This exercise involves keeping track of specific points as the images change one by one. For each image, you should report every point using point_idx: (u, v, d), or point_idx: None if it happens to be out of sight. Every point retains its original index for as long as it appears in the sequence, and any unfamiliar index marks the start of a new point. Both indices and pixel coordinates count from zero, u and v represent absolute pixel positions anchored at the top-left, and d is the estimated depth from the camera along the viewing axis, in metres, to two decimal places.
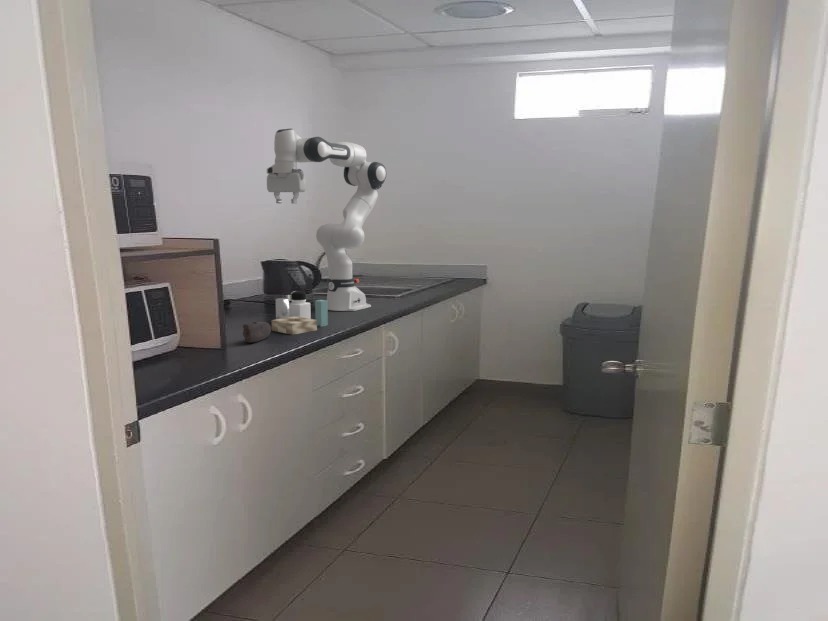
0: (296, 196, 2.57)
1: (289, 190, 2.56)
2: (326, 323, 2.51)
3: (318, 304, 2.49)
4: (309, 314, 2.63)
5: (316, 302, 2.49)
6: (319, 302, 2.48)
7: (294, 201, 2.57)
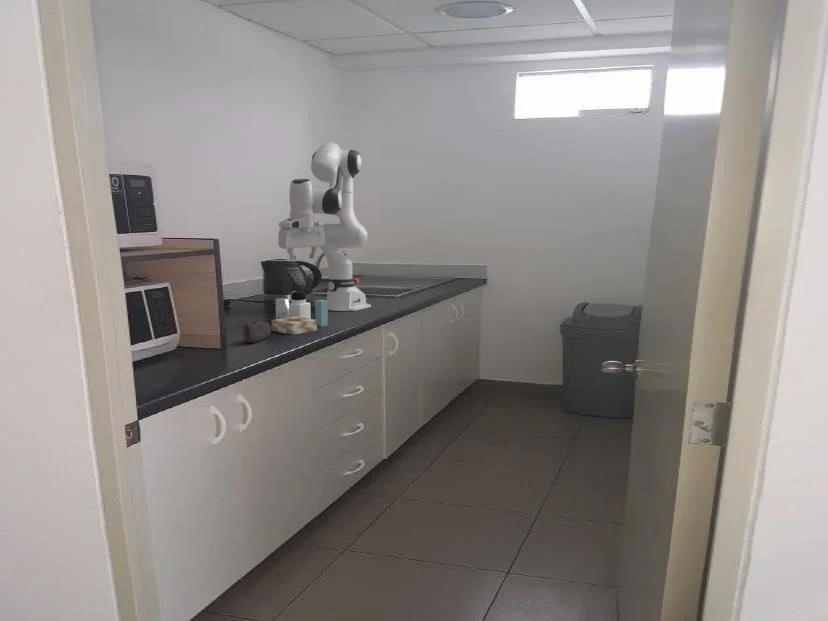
0: None
1: (313, 245, 2.41)
2: (326, 323, 2.51)
3: (318, 304, 2.49)
4: (309, 314, 2.63)
5: (316, 302, 2.49)
6: (319, 302, 2.48)
7: None
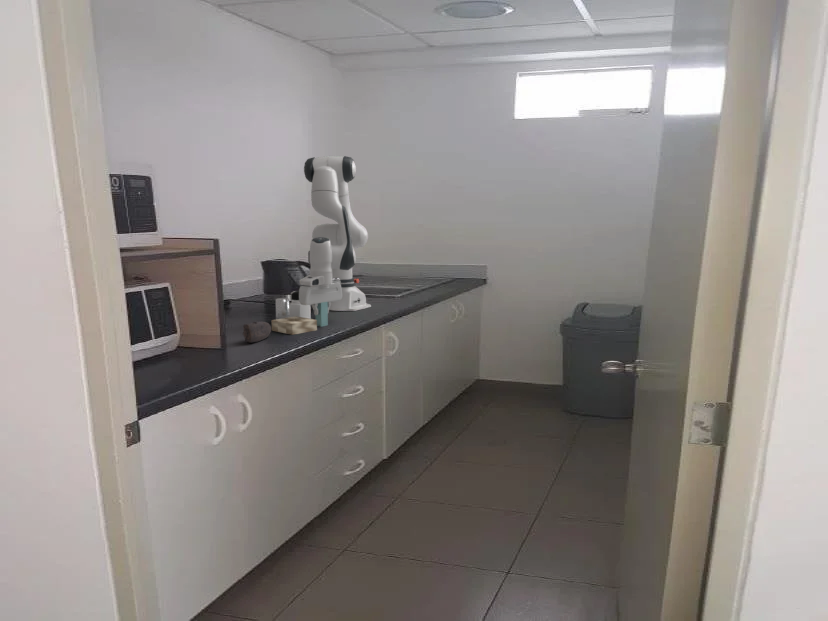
0: None
1: (331, 300, 2.52)
2: (326, 323, 2.51)
3: (318, 304, 2.49)
4: (309, 314, 2.63)
5: None
6: None
7: None
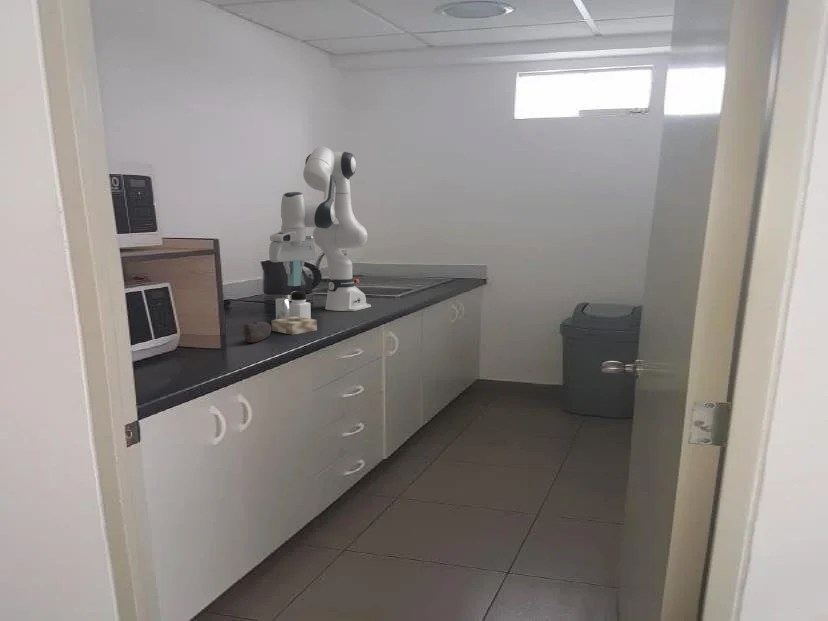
0: None
1: (305, 259, 2.38)
2: (299, 283, 2.37)
3: (290, 262, 2.35)
4: (309, 314, 2.63)
5: None
6: None
7: None
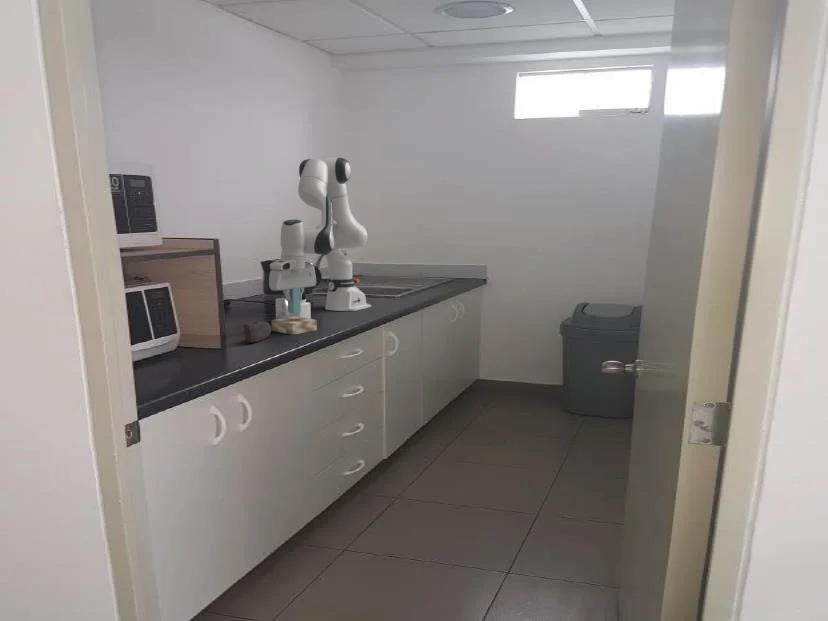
0: None
1: (304, 285, 2.40)
2: (299, 310, 2.39)
3: (290, 289, 2.37)
4: (309, 314, 2.63)
5: None
6: None
7: None
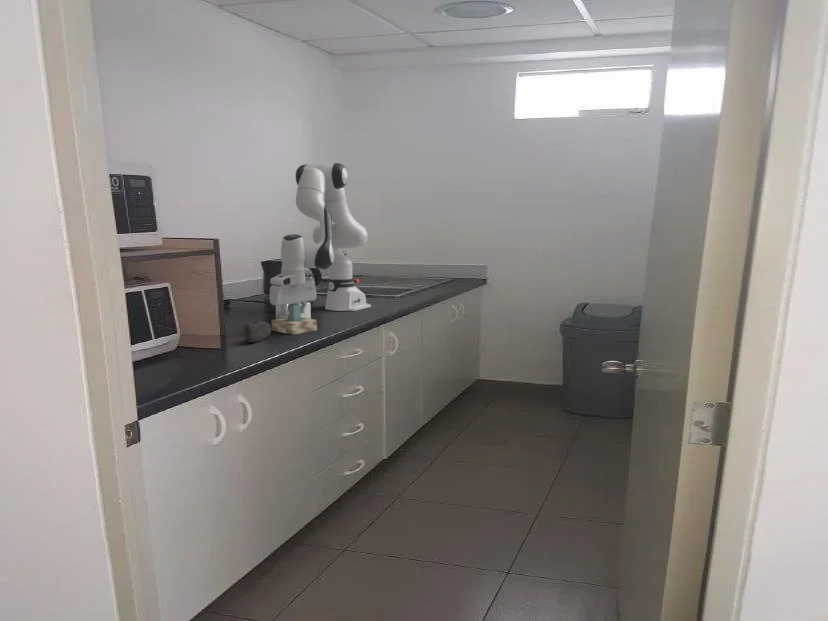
0: None
1: (305, 300, 2.41)
2: None
3: (290, 308, 2.38)
4: (309, 314, 2.63)
5: (288, 306, 2.39)
6: (291, 306, 2.37)
7: None
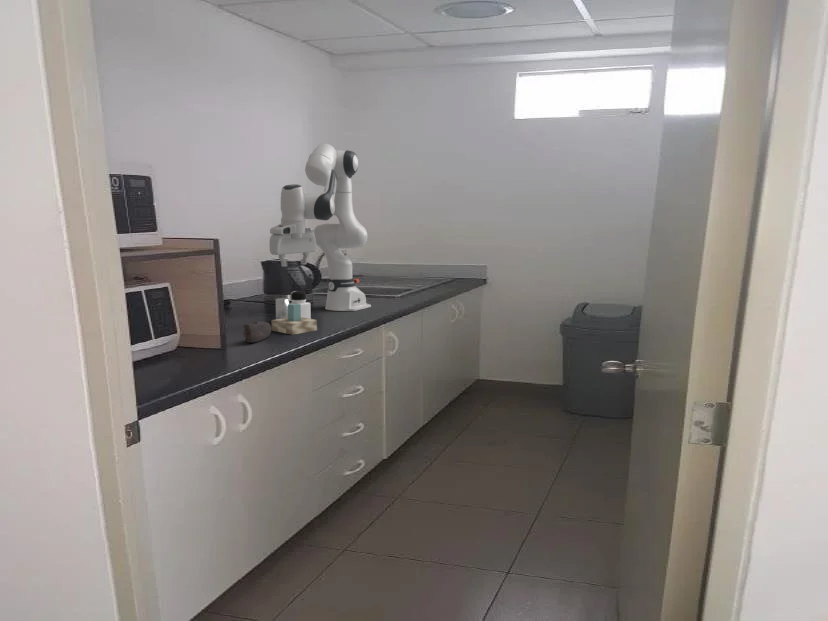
0: None
1: (305, 251, 2.40)
2: None
3: (290, 308, 2.38)
4: (309, 314, 2.63)
5: (288, 306, 2.39)
6: (291, 306, 2.37)
7: None
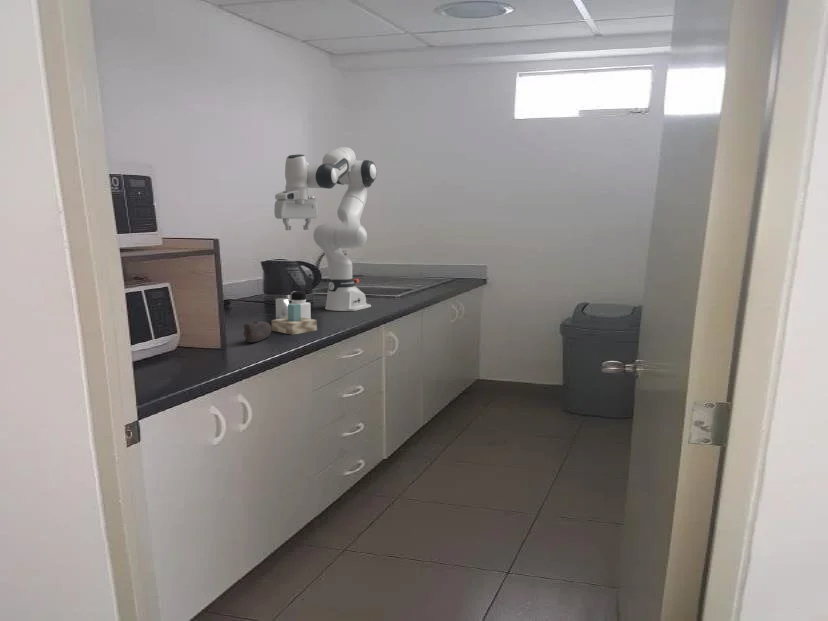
0: None
1: (307, 217, 2.58)
2: None
3: (290, 308, 2.38)
4: (309, 314, 2.63)
5: (288, 306, 2.39)
6: (291, 306, 2.37)
7: None
